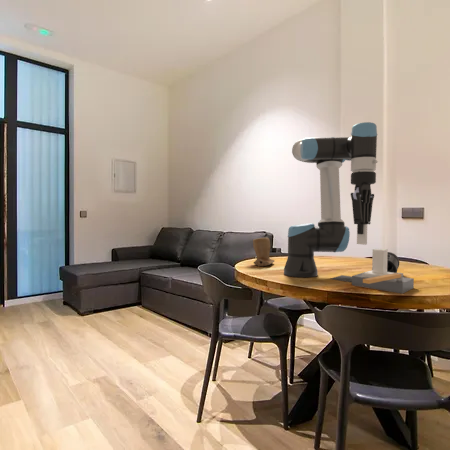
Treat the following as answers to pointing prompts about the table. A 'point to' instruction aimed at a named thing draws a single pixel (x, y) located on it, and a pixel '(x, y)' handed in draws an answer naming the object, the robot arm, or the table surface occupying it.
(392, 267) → the muzzle brake
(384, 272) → the plug
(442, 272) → the table surface
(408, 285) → the socket block
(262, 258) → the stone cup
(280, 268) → the table surface
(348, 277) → the mat
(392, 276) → the tan wooden bar
